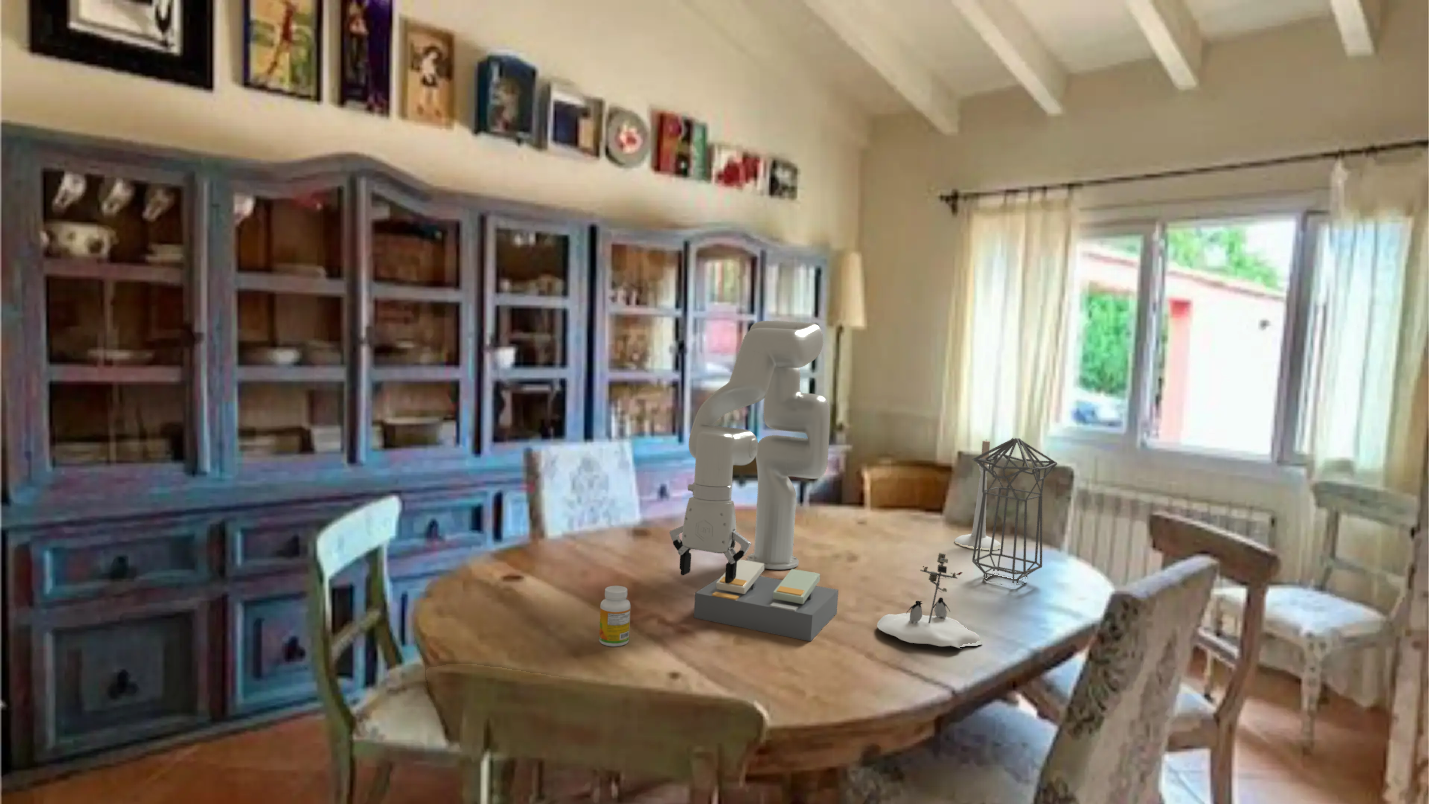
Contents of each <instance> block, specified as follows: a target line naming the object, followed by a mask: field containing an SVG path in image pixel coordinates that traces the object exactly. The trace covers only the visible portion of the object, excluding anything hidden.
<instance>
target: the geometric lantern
mask: <svg viewBox="0 0 1429 804" xmlns="http://www.w3.org/2000/svg"><path fill="white" fill-rule="evenodd" d="M1016 445H1017V446H1018V449H1019V452H1020V454H1021V458H1020V457H1015V456H1012V455H1013V454H1014V450H1015V448H1016ZM1009 451H1010V452H1009ZM1024 451H1025V452H1024ZM1033 451H1034V452H1035V453H1036V454H1039V456H1041V457H1043V458H1045V459H1046V460H1040V459H1039V458H1038V457H1037V456H1036V455H1035V453H1034V452H1033ZM1008 452H1009V454H1007V453H1008ZM991 453H992V454H991ZM1025 453H1026V455H1027V457H1028V458H1026V455H1025ZM987 454H989V456H988V457H987V458H985V459H981V458H982V457H984V456H985V455H987ZM1002 458H1005V459H1006V462H1005V464H1004V466H1003V465H1002V466H1001V465H997V464H998V463H999V461H1000V460H1001V459H1002ZM971 460H972V461H973V462H976V464H977V465H978V464H979V465H980V466H981V467H982V468H983V487H982V493H983V497H982V503H981V509H980V515H979V521H978V527H977V534H976V540H975V546H974V550H973V552H972V559H971V560H972V563H973V564H974V565H975V566H976V567H977V568H978V569H979V570H980V571H981V572H982V574H983V577H985V578H987V577H988V576H990V575H992V577H995V578H997V577H998V578H1001V579H1005V580H1010V581H1011V584H1012V583H1014V584H1015V582H1016V584H1017V583H1018V584H1019V579H1023V577H1025V578H1026V577H1027V578H1028V575H1030V574H1032V573H1033V572H1035V571H1037V570H1040V569H1042V568H1043V489H1044V486H1045V485H1044V484H1045V479H1046V478H1047V477H1048V476H1049V474H1050V473H1051V472H1052V471H1053V469H1054V468H1055V467H1056V466H1057V465H1058V462H1057V461H1055V460H1054V459H1052V458H1050V457H1049V456H1048V455H1045V454H1044V453H1043V452H1041V451H1039V450H1037V449H1036V448H1034V447H1033V446H1032V445H1030V444H1029V443H1026V441H1024V440H1022V439H1021V438H1017V437H1012V438H1010V439H1009V440H1007V441H1005V442H1003V443H1001V444H999V445H997V446H995V447H993V448H990V449H989V451H987V452H985V453H983V454H982V453H981V454H980V455H978V456H975V457H973V458H972V459H971ZM1013 460H1014V461H1015V460H1016V461H1018V462H1021V463H1022V464H1021V465H1022V466H1019V465H1018V464H1016V463H1015V462H1014V461H1013ZM992 461H993V462H992ZM982 462H983V463H982ZM1028 462H1031V464H1032V466H1033V467H1030V466H1029V465H1030V464H1029V463H1028ZM985 463H987V464H988V465H989V469H988V468H987V467H986V466H985ZM1009 463H1011V465H1013V466H1008V465H1009ZM1038 464H1039V465H1040V466H1041V467H1040V466H1039V465H1038ZM979 465H978V466H979ZM990 465H991V466H990ZM994 468H997V469H1001V470H1002V474H1003V475H998V474H997V472H996V470H995V469H994ZM1006 469H1007V470H1008V469H1009V470H1012V469H1013V470H1017V471H1015V472H1013V473H1010V474H1008V475H1006V472H1005V470H1006ZM1029 470H1031V471H1029ZM1043 470H1044V472H1043V476H1042V477H1041V471H1043ZM985 471H988V472H987V473H989V474H990V475H991V476H992V478H994V479H993V481H992V482H991V485H990V486H989V488H987V490H984V488H985ZM1020 473H1024V474H1029V475H1032V476H1033V477H1034V480H1035V484H1034V485H1033V487H1032V489H1031V490H1030V491H1029V490H1024V489H1018V488H1017V489H1016V488H1013V486H1012V484H1013V482H1014V481H1015V480H1016V478H1018V476H1019V475H1020ZM1013 476H1014V477H1013ZM1012 477H1013V478H1012ZM1009 478H1012V479H1011V481H1010V480H1009ZM1001 479H1004V480H1005V481H1006V483H1007V486H1005V487H1004V486H1003V484H1002V482H1001ZM996 480H998V482H999V484H1000V486H996V487H993V485H994V484H995V482H996ZM1039 482H1041V485H1039ZM1036 486H1037V487H1038V490H1039V492H1036V491H1035V492H1034V489H1035V488H1036ZM993 490H998V493H997V494H996V493H992V492H989V491H993ZM1002 490H1005V491H1006V493H1005V495H1002ZM986 491H987V492H986ZM1009 491H1011V492H1012V493H1013V496H1014V497H1011V496H1009ZM1016 492H1021V493H1028V494H1027V496H1026V498H1020V497H1019V496H1018V495H1017V493H1016ZM986 494H987V495H988V496H989V495H990V496H995V497H997V500H996V507H995V515H994V521H993V528H992V529H993V530H992V535H991V538H992V542H991V548H990V551H989V553H987V554H985V555H981V551H980V548H981V539H982V529H983V519H984V510H985V500H986V501H987V495H986ZM1031 494H1033V495H1035V496H1032V497H1030V496H1031ZM1001 498H1004V499H1005V503H1004V511H1003V520H1002V533H1001V542H1000V544H1001V549H1000V550H999V551H1000V553H994V552H993V551H992V550H993V543H994V539H995V537H996V529H997V522H998V513H999V508H1000V507H999V506H1000V502H1001V501H1000V500H1001ZM1036 498H1038V499H1037V500H1038V502H1037V515H1036V516H1037V519H1036V535H1035V552H1034V560H1029V559H1027V525H1028V524H1027V523H1028V520H1027V518H1028V517H1027V516H1028V501H1029V500H1033V499H1036ZM1009 499H1011V500H1016V506H1015V520H1014V537H1013V552H1012V556H1011V555H1008V554H1003V552H1004V551H1003V550H1004V544H1005V543H1004V541H1005V531H1006V529H1005V528H1006V520H1007V511H1008V502H1009V501H1008V500H1009ZM1020 501H1021V502H1024V510H1023V511H1024V514H1023V515H1024V518H1023V521H1024V522H1023V554H1022V555H1023V557H1022V558H1021V557H1016V553H1017V538H1018V537H1017V536H1018V523H1019V522H1018V521H1019V506H1020V505H1019V502H1020ZM980 523H981V526H980ZM979 530H980V535H979ZM978 536H979V545H978V550H976V548H977V542H978ZM1038 549H1039V550H1038ZM1038 553H1039V562H1038ZM976 555H977V557H976ZM980 555H981V556H980ZM992 556H994V557H998V561H997V566H996V564H995V561H994V558H993V557H992ZM988 557H990V561H991V562H992V565H990V564H985V563H982V562H980V560H983V559H985V558H988ZM1001 557H1003V558H1008V559H1012V566H1011V567H1012V569H1011V568H1007V567H1003V566H1000V562H1001ZM1016 561H1022V562H1023V567H1022V568H1023V569H1022V570H1017V569H1016ZM1027 563H1029V564H1031V565H1030V566H1029V567H1028V568H1027ZM1034 565H1037V566H1035V567H1033V566H1034ZM983 567H984V568H985V567H986V568H988V569H986V570H984V568H983ZM1026 568H1027V569H1026ZM991 570H992V572H993V571H996V572H997V571H1000V572H1003V573H1008V574H1012V578H1013V579H1011V578H1007V577H1002V576H998V575H999V574H998V575H994V574H995V573H994V574H993V573H989V572H990V571H991ZM1015 575H1018V577H1016V578H1017V579H1014V578H1015ZM983 577H982V578H983Z"/></svg>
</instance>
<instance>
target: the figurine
mask: <svg viewBox="0 0 1429 804" xmlns="http://www.w3.org/2000/svg"><path fill="white" fill-rule="evenodd" d="M937 556H938V557H937V560H936V562H937V563H938V565H937V572H936V571H928V569H929V567H928V566H924V565H923V566H922V568H923V569H919V570H920V572H922V573H927V574H929V577H928V580H929V582H930V583H932V584H934V585H935V590H934V596H933V599H932V603H931V610H930V614H929V615H924V614H923V608H922V605H923V604H924V603H923V601H922V600H915V602H914V604H913V605H912V606H911V607H909V609H908V610H907V611H906V612H903V613H898V614H891V613H888V614H885V615H883V616H882V617H880V619H879V620H878V622H877V624H876V625H877V628H878V630H879V631H880V632H881V631H882V632H883V633H885V634H887V635H890V636H894V637H896V638H898V639H899V640H900V641H904V642H907V643H910V644H913V643H914V644H926V645H927V644H928V645H932V646H938V647H950V646H951V647H955V648H957V649H961V648H960V646H962V645H963V644H968V643H970V644H972V643H976V642H977V641H980V640H981V638H980V635H979V634H977V633H976V632H975V631H972V630H970V629H969V628H968V627H966V626H965V625H963V624H961V622H959V621H958V620H956V619H954V618H952V617H949V616H948V615H947V613H948V612H947V609H948V611H949V612H951V610H950V608H949V607H948V606H947V604H946V603H945V601H944V598H943V597H942V596H941V597H939V598H938V600H937V601H936V598H937V593H938V592H940V593H941V592H942V593H944V592H945V593H947V592H948V590H947V588H946V587H943V588H941V587H940V585H941V583H940V581H941V579H942V580H944V579H947V580H949V579H958V577H957V576H960V575H962V574H963V572H962V571H960V572H957V573H956V572H954V573H953V572H950V574H951V575H949V574H947V570H948V569H947V568H948V567H947V566H946V565H945V564H948V560H949V559H948V558H946V556H947V555H946V553H943V552H939V553H938V555H937ZM941 577H943V578H941ZM935 601H936V602H935ZM933 610H934V614H935V615H933ZM909 611H910V612H909ZM964 626H965V627H966V628H965V627H964ZM967 628H968V629H969V630H968V629H967Z"/></svg>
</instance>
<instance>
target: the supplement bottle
mask: <svg viewBox="0 0 1429 804" xmlns="http://www.w3.org/2000/svg"><path fill="white" fill-rule="evenodd" d="M627 598H628V588H627V587H626V586H622V585H610V586H607V587H605V588H604V599H603V600H602V601H600V606H599V610H600V611H599V630H598V631H599V633H598V641H599V643H600V644H602V645H603V646H606V647H621V646H625V645H627V644H628V643H629V642H630V626H631V602H630V600H629V599H627Z"/></svg>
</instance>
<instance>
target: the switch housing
mask: <svg viewBox="0 0 1429 804" xmlns="http://www.w3.org/2000/svg"><path fill="white" fill-rule="evenodd" d="M722 576H723V575H721V576H719V577H718V578H717V579H715V580H713V581H711V583H709V584H707V585H706V586H704V587H702V588H701V589H699V590H697V591H696V592H695V593H694V606H693V607H694V608H693V609H694V610H693V618H694V619H698V620H704V621H708V622H713V623H718V624H723V625H728V626H733V627H737V628H743V629H747V630H752V631H753V630H754V631H758V632H762V633H768V634H774V635H778V636H783V637H788V638H793V639H797V640H802V641H808V642H812V641H813V639H815V637H816V636H817V635H818V634H819V633H820V632H821V631H822V630H823V629H824V628H825V627H826V626H827V625H828V623H830V621H831V620H832V619H833V618H835V616H836V615H837V613H838V603H839V602H838V601H839V600H838V599H839V589H836V588H832V587H824V586H819V585H816V586H815V588H814V589H813V591H812V592H811V594H810V595H809V596H808V598H807V599H806V601H805V602H804V603H803V604H800V603H794V602H789V601H784V600H778V599H773V592H774V591H775V589H776V588H777V587H778V586H779V584H780V583H781V582H782V581H783V579H779V578H774V577H767V576H763V575H760V576H759V577H758V578H757V579H756V581H755V582H754V583H753V584H752V586H751V587H750V588H749V589H748V590H747V592H746V593H745V594H741V593H736V592H731V591H725V590H720V589H717V587H716V582H717V581H718V580H719V579H720V578H721V577H722ZM834 615H835V616H834ZM829 620H830V621H829ZM826 624H827V625H826ZM825 625H826V626H825ZM824 626H825V627H824ZM823 627H824V628H823ZM822 628H823V629H822ZM821 629H822V630H821Z"/></svg>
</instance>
